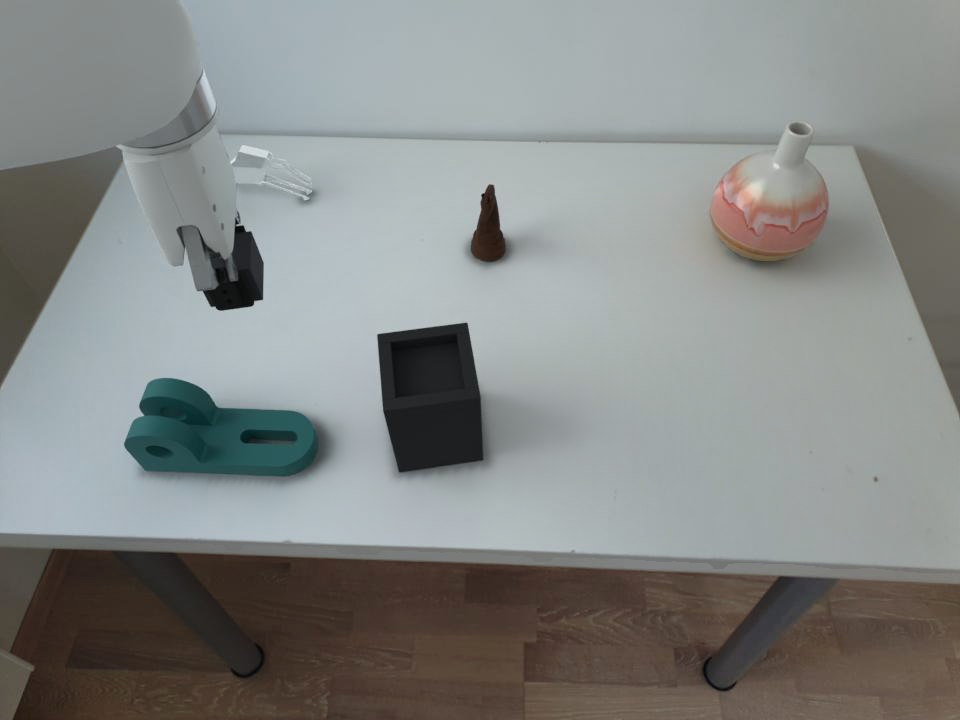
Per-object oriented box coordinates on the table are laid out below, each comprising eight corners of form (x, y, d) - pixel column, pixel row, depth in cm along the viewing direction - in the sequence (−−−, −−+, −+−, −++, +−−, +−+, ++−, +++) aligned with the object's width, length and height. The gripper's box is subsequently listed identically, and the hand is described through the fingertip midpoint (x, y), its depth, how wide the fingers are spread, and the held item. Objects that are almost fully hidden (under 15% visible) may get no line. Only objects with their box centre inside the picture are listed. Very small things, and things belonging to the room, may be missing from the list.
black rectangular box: (399, 472, 75) (383, 411, 64) (392, 401, 80) (376, 333, 70) (483, 460, 75) (480, 397, 65) (471, 390, 80) (467, 321, 70)
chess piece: (466, 258, 92) (463, 200, 84) (477, 231, 95) (475, 172, 87) (500, 265, 91) (500, 206, 83) (510, 237, 94) (511, 178, 86)
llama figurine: (304, 223, 106) (183, 175, 102) (317, 169, 97) (185, 115, 93) (300, 231, 104) (178, 184, 101) (313, 178, 95) (179, 124, 92)
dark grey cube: (210, 307, 61) (194, 276, 58) (213, 269, 64) (198, 237, 60) (263, 300, 61) (250, 268, 58) (264, 262, 64) (251, 230, 61)
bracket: (145, 470, 75) (112, 434, 69) (165, 416, 79) (135, 376, 73) (311, 477, 74) (293, 441, 68) (323, 422, 78) (307, 382, 72)
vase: (701, 275, 90) (740, 162, 75) (699, 201, 97) (734, 87, 83) (814, 286, 88) (875, 173, 74) (802, 210, 96) (856, 96, 82)
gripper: (115, 40, 52) (200, 223, 67) (77, 192, 42) (187, 367, 57) (218, 28, 53) (280, 212, 68) (204, 176, 43) (280, 353, 58)
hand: (236, 282), depth 62 cm, fingers closed on dark grey cube, 4 cm apart
